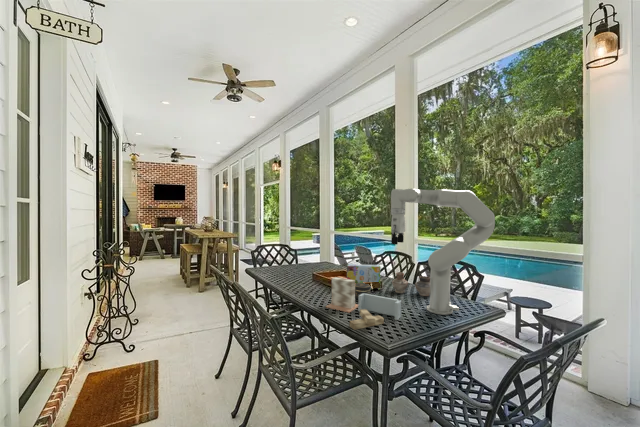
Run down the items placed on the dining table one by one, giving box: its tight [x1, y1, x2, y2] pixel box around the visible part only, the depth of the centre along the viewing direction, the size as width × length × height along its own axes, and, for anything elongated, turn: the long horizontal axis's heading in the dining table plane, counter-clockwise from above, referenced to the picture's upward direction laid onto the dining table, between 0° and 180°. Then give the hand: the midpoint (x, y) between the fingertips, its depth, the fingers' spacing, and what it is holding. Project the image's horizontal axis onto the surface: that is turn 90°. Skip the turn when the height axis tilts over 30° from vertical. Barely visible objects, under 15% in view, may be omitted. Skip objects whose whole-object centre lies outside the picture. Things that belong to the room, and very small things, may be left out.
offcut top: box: [359, 309, 376, 326], centre depth 137 cm, size 12×3×2 cm, turn 10°
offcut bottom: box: [349, 315, 385, 331], centre depth 137 cm, size 16×4×3 cm, turn 117°
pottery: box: [391, 271, 430, 297], centre depth 185 cm, size 11×25×12 cm, turn 69°
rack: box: [357, 293, 402, 321], centre depth 151 cm, size 20×5×8 cm, turn 57°
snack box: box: [346, 263, 381, 291], centre depth 195 cm, size 21×6×15 cm, turn 84°
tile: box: [325, 303, 358, 314], centre depth 161 cm, size 14×12×1 cm
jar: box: [355, 283, 372, 301], centre depth 175 cm, size 10×10×8 cm
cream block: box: [330, 276, 356, 309], centre depth 160 cm, size 12×4×14 cm, turn 57°
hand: (397, 243), depth 165 cm, fingers open, 9 cm apart
